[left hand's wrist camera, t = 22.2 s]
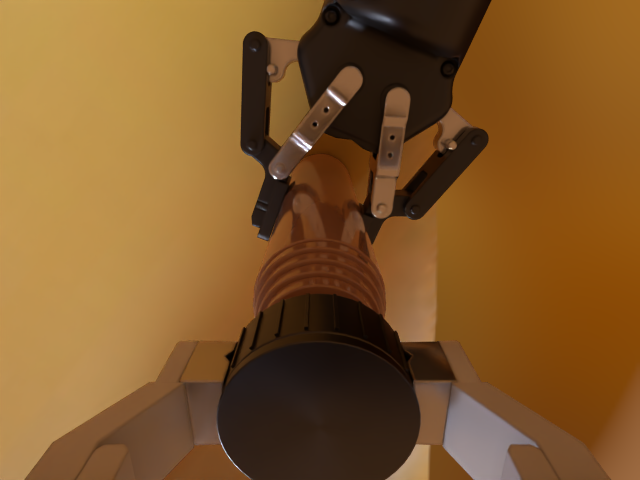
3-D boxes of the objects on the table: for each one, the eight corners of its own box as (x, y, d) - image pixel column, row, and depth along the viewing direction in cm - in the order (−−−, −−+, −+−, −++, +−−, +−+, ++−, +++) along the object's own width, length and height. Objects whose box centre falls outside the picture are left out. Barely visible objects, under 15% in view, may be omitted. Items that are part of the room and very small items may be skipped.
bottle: (348, 213, 31) (406, 481, 10) (290, 211, 31) (224, 475, 10) (352, 154, 29) (430, 324, 8) (290, 152, 29) (214, 317, 8)
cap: (197, 343, 10) (170, 399, 8) (352, 258, 9) (359, 301, 7) (291, 454, 11) (286, 525, 10) (434, 389, 11) (458, 453, 9)
